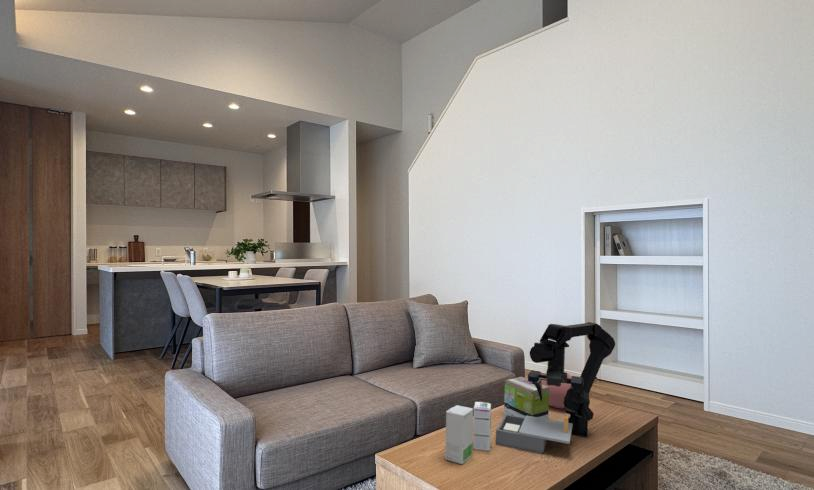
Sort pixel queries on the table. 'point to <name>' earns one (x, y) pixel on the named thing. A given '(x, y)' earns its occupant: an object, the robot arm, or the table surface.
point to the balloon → (557, 393)
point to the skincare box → (459, 434)
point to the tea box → (525, 399)
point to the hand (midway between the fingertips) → (554, 403)
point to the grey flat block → (517, 436)
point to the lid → (547, 429)
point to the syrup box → (482, 426)
